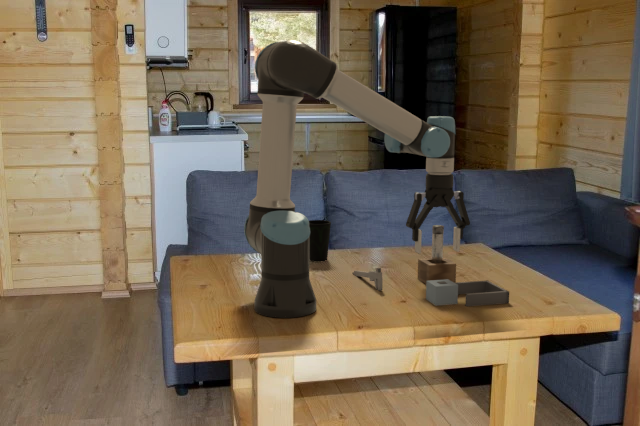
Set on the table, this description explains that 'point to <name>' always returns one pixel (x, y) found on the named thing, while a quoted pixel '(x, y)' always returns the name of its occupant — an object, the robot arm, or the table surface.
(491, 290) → the corral
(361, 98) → the robot arm
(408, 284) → the table surface
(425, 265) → the bore block
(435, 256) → the cylinder
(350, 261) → the table surface
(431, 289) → the block
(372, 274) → the caliper
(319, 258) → the cup
